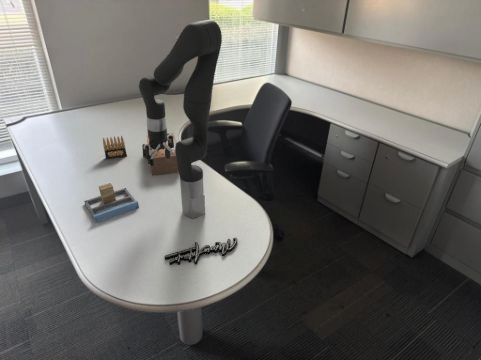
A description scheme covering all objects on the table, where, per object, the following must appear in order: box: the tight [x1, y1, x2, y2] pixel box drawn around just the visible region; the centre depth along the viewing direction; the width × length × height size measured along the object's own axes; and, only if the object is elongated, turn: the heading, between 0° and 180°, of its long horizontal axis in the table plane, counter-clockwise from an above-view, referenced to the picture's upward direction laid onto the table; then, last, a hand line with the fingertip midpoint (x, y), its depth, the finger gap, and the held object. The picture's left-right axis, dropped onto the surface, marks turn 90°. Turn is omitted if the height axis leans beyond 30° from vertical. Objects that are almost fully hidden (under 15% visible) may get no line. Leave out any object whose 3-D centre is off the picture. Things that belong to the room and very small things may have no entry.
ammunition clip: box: [102, 135, 128, 160], centre depth 176 cm, size 11×2×12 cm, turn 111°
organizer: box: [84, 187, 140, 223], centre depth 144 cm, size 15×18×3 cm
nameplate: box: [164, 237, 238, 266], centre depth 123 cm, size 28×2×10 cm
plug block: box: [98, 182, 117, 205], centre depth 145 cm, size 3×5×8 cm, turn 126°
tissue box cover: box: [146, 132, 179, 177], centre depth 175 cm, size 26×14×10 cm, turn 16°
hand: (159, 161), depth 142 cm, fingers open, 8 cm apart
